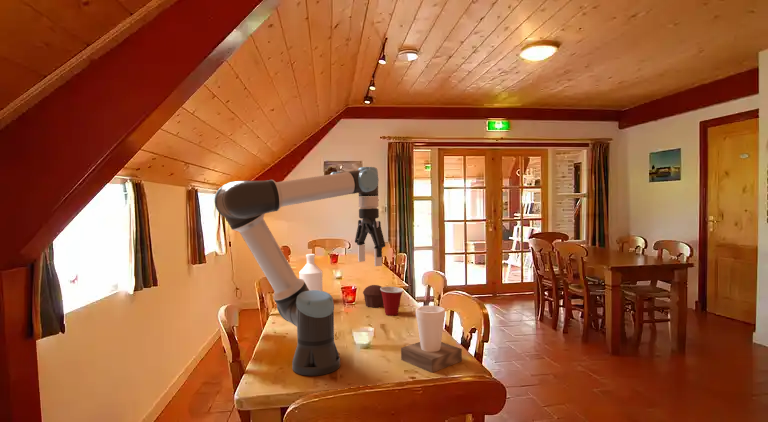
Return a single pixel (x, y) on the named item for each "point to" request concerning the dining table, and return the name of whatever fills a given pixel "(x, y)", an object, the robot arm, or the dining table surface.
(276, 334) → the dining table surface
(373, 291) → the muffin
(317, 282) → the bottle
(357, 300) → the dining table surface
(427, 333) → the foam cup
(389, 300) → the plastic cup
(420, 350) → the walnut plinth
